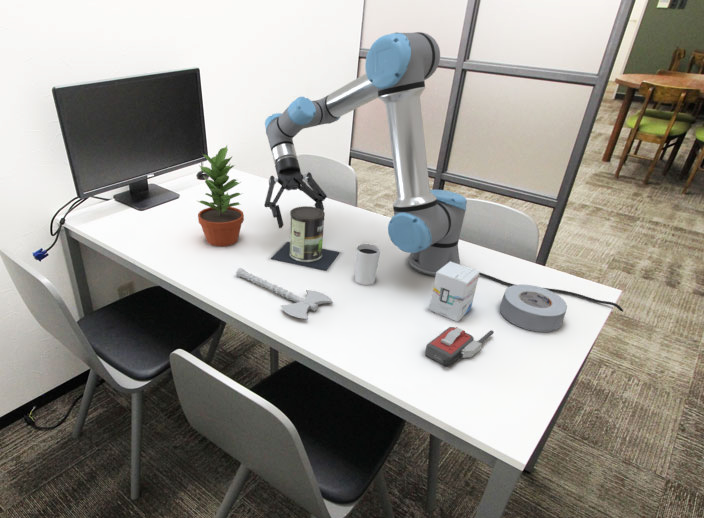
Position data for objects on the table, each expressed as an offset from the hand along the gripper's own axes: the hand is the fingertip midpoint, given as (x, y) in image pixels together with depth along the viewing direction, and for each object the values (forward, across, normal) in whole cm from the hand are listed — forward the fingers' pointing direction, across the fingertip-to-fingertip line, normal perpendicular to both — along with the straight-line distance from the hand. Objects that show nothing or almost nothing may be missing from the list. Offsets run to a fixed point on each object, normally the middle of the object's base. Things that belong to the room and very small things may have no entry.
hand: (302, 224), depth 154 cm
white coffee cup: (+23, -10, +10) cm, 27 cm away
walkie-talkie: (+49, -17, +36) cm, 63 cm away
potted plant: (-4, +22, -17) cm, 28 cm away
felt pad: (+9, 0, -4) cm, 10 cm away
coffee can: (+9, 0, -3) cm, 10 cm away
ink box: (+38, -25, +25) cm, 52 cm away
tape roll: (+45, -43, +32) cm, 70 cm away
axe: (+23, +16, +10) cm, 29 cm away
